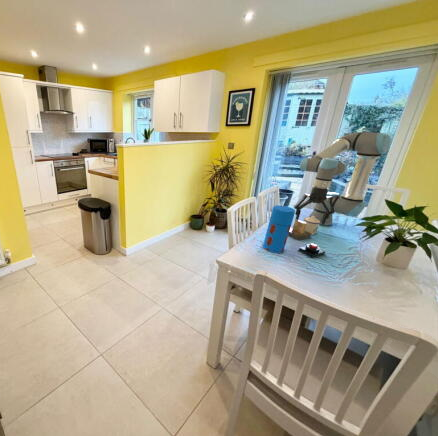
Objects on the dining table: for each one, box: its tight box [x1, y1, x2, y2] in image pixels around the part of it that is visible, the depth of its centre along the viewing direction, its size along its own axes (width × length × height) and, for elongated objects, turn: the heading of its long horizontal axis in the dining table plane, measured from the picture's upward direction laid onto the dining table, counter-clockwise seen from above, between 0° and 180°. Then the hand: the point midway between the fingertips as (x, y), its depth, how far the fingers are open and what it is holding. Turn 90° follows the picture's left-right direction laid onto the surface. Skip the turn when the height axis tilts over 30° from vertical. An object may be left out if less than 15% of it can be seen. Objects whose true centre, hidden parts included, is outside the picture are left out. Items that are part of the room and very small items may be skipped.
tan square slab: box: [292, 219, 307, 234], centre depth 148 cm, size 7×2×7 cm, turn 20°
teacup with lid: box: [303, 216, 320, 236], centre depth 154 cm, size 12×9×12 cm
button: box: [309, 242, 319, 249], centre depth 128 cm, size 4×4×2 cm
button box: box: [298, 243, 326, 259], centre depth 129 cm, size 10×8×4 cm
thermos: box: [262, 204, 296, 254], centre depth 128 cm, size 11×11×25 cm
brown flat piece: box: [288, 227, 312, 241], centre depth 150 cm, size 12×11×3 cm
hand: (309, 221), depth 135 cm, fingers open, 13 cm apart
